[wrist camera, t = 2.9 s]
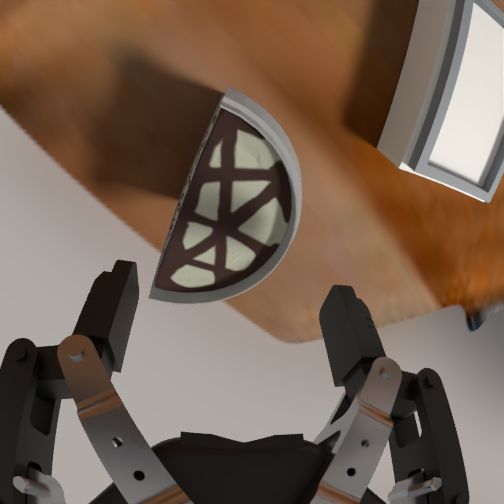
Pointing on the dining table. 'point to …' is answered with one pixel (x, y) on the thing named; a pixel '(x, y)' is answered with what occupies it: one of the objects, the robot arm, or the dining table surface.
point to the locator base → (451, 98)
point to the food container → (231, 208)
